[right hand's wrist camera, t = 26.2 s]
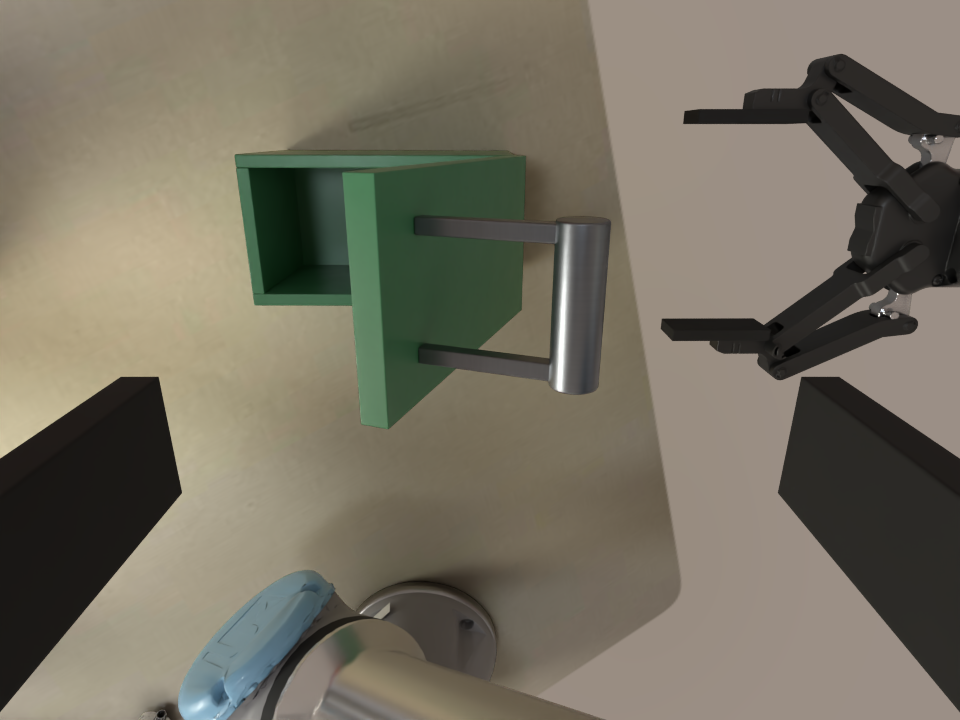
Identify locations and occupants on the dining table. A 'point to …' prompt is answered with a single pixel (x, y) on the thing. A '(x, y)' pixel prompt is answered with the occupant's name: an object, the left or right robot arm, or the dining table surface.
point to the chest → (309, 218)
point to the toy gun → (154, 715)
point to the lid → (462, 280)
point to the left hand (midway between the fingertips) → (677, 229)
